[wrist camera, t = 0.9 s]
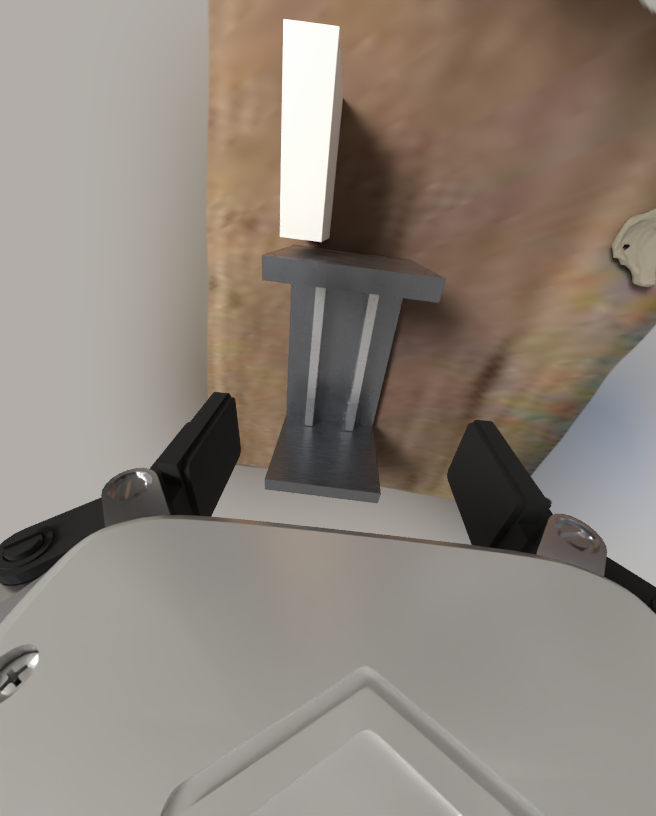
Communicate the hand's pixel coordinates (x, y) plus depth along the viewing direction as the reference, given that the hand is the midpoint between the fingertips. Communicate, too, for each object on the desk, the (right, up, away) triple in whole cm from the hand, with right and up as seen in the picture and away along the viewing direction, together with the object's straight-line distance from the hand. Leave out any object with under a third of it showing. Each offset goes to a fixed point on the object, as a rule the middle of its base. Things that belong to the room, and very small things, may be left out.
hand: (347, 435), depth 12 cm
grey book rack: (0, +8, +24) cm, 25 cm away
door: (-2, +23, +15) cm, 27 cm away
